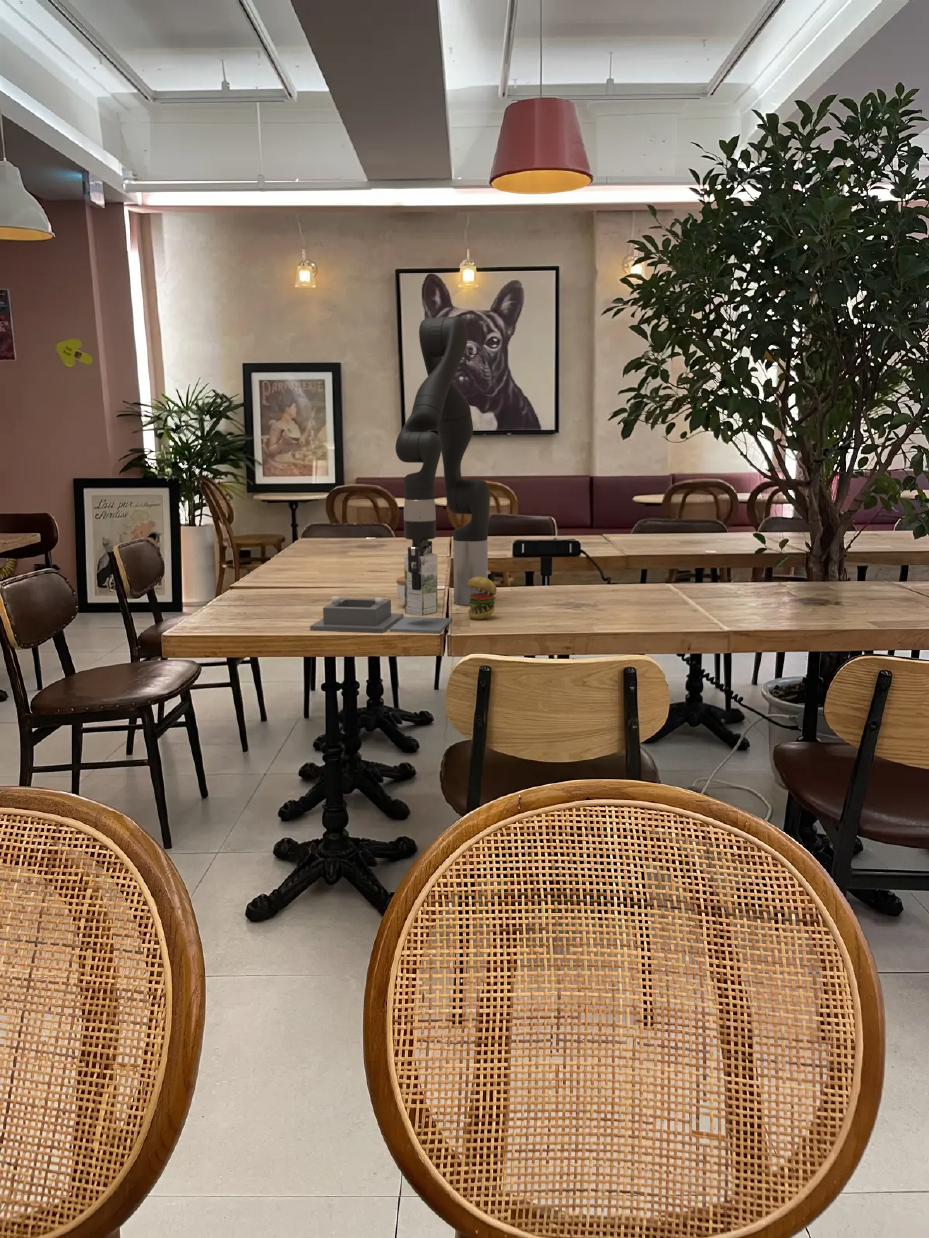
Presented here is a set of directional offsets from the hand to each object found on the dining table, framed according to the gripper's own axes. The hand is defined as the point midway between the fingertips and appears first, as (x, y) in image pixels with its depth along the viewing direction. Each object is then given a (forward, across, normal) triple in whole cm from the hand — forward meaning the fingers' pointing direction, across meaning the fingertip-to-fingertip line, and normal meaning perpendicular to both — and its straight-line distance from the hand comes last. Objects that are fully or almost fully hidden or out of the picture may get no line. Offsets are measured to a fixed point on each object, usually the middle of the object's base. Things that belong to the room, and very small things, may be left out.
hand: (421, 587), depth 216 cm
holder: (+10, 0, +16) cm, 19 cm away
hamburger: (+10, +12, -13) cm, 20 cm away
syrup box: (+7, 0, 0) cm, 7 cm away
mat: (+10, 0, 0) cm, 10 cm away
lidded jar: (+10, +23, +7) cm, 26 cm away
